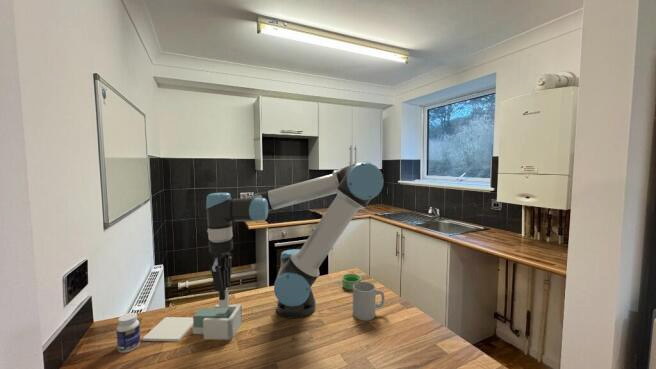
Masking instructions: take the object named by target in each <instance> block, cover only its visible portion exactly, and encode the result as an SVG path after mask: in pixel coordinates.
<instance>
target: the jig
mask: <svg viewBox="0 0 656 369" xmlns="http://www.w3.org/2000/svg"><path fill="white" fill-rule="evenodd" d="M214 308H219V304H215V305H214ZM228 308H229V318H204V320H203V328H202V327H194V325H193V326H192V335H203V340H226V341H228V340H230V341H231V340H233V339H234V336H235V335H236V334H237V332H238V329H239V328H240V327H241V325H242V323H243V313H242V312H243V311H242V304H229V307H228Z"/></svg>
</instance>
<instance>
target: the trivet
mask: <svg viewBox="0 0 656 369" xmlns="http://www.w3.org/2000/svg"><path fill="white" fill-rule="evenodd" d="M193 326H194V324H193V316H192V317H180V316H179V317H178V316H174V317H173V316H172V317H171V316H165V317H164V318H163V319H162V320H161V321H160V322H158V324H157V325H155V327H153V328H152V329H151V330H150V331H149V332H148V333H147V334H145V335H144V336H143V337H142V341H144V342H149V341H150V342H181V340H182V339H183V338H184V336H185V335H186V334H187V333H188V332H189V330H190V329H191V328H193Z"/></svg>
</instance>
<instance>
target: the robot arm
mask: <svg viewBox="0 0 656 369" xmlns="http://www.w3.org/2000/svg"><path fill="white" fill-rule="evenodd" d="M383 187H384V176H383V173H382V171H381V169H380V168H379V167H378V166H377V165H374V164H373V163H371V162H369V161H360V162H359V161H358V162H354V163H351V164H349V165H347V166H344V167H342V168H339V169H335V170H333V171H332V173H331V174H327V175H323V176H319V177H315V178H313V179H309V180H305V181H301V182H296V183H294V184H290V185H286V186H281V187H278V188H275V189H270V190H268V191H263V192H257V193H254V194H253V195H251V196H248V197H247V198H232V197H231V193H229V192H214V193H213V192H211V193H209V194H207V196H206V204H205V205H206V206H205V209H206V218H207V220H206V222H207V230H206V233H207V236H208V253H210V254H213V258H212V260H213V265H210V266H209V270H210V273H211V277H212V282H213V288H214V291H215V292H218V303H219V304H218V305H219V308H228V307H229V305H230V297H229V287H232V284H231V279H232V261H233V260H232V259H233V253H230V252H231V251H232V250H233V249H234V241H233V237H234V236H233V222H259V221H266V220H267V218H268V215H269V212H271V211H274V210H278V209H281V208H286V207H289V206H294V205H297V204H301V203H305V202H309V201H312V200H316V199H320V198H324V197H329V196H332V195H335V194H336V196H335V198H334V200H333V201H332V202H331V204H330V205H329V207H328V208H327V209H326V210H325V213H324V214H323V216H322V217H321V218H320V220H319V222H317V224H316V226H315V228H314V229H313V230H312V232H311V233H310V235H309V236H308V238H307V239H306V241H305V243H303V245H302V247H301V248H296V249H295V248H294V249H287V250H283V251H282V252H281V253H280V268H279V270H278V272H277V275H276V276H277V277H276V278H275V281H274V284H273V292H274V293H273V294H274V295H275V298H276V300H277V302H276V303H277V304H276V310H277V313H278V314H279V315H280V316H282V317H284V318H288V319H299V318H304V317H307V316H310V315H311V314H313V313H314V311H315V310H316V299H315V296H314V293H313V292H314V291H313V290H312V287H313V285H314V284H315V282H316V281H317V279H318V278H319V276H320V269H319V268H320V267H321V265H322V264H323V263H324V261H325V260H326V258H327V256H328V255H329V253H330V252H331V250H332V249H333V247H334V246H335V244H336V243H337V242H338V241H339V238H340V237H341V235H342V234H343V233H344V231H345V230H346V228H347V227H348V225H350V222H351V221H352V220H353V218H354V217H355V215H356V214H357V212H358V211H359V210H363V209H366V208H367V206H368V204H369V203H370V201H371V200H372V199H374V198H375V197H377V196H378V195H379V194H380V193H381V192H382V189H383Z"/></svg>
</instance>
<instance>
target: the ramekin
mask: <svg viewBox="0 0 656 369" xmlns="http://www.w3.org/2000/svg"><path fill="white" fill-rule="evenodd" d="M341 280H342V287H343V288H344V289H345V290H348V291H353V285H354V284H355V283H357V282H362V281H361V280H362V277H361V276H360V275H359V274H356V273H346V274H343V275H342V276H341Z"/></svg>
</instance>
